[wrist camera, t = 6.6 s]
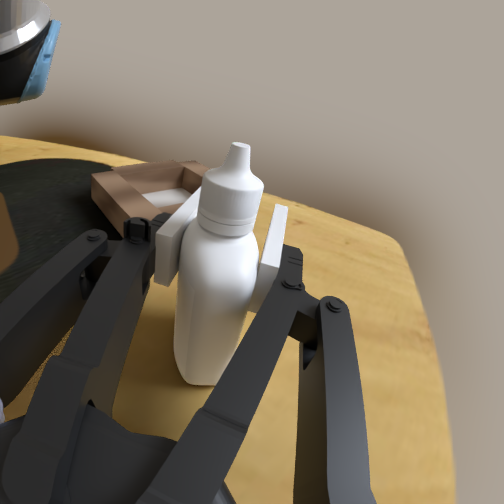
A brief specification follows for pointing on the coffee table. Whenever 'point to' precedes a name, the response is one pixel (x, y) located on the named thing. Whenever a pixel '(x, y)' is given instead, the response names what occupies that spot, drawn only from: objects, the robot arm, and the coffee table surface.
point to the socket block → (145, 189)
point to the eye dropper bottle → (217, 269)
